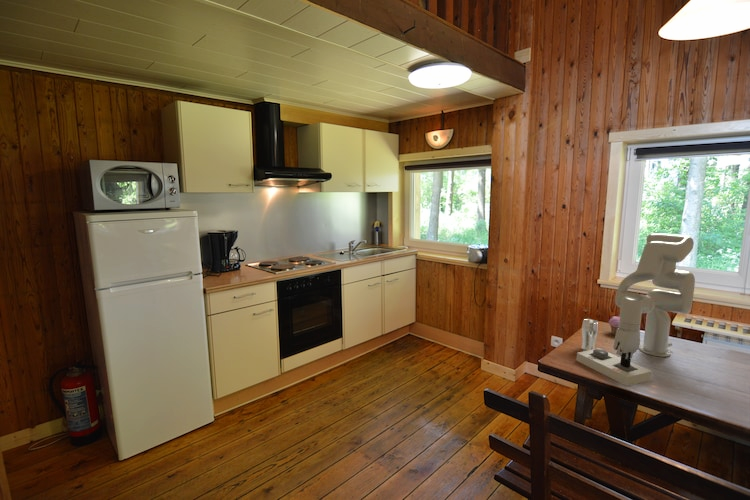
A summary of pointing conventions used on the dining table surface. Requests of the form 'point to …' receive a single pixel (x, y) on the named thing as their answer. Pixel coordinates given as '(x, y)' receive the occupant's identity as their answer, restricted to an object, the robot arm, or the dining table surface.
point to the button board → (614, 368)
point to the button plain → (600, 354)
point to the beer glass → (589, 334)
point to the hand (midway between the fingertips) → (625, 366)
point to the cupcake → (614, 324)
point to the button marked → (625, 368)
